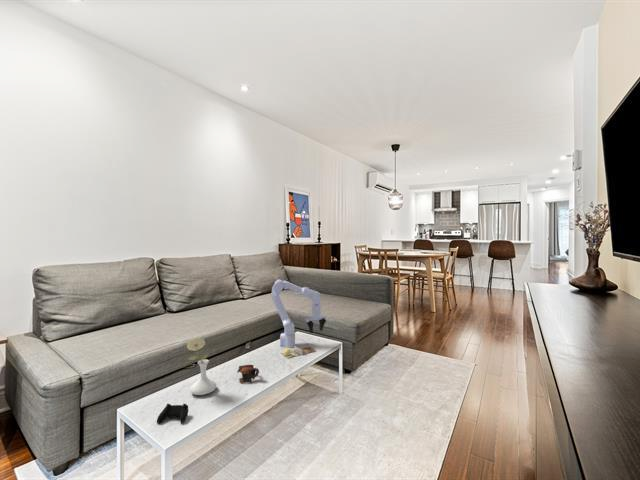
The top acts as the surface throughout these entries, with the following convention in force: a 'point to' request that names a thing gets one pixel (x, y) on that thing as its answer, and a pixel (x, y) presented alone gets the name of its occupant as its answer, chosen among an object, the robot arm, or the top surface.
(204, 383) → the flower in vase
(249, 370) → the pottery mug
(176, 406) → the gaming controller
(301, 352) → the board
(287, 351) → the ball
